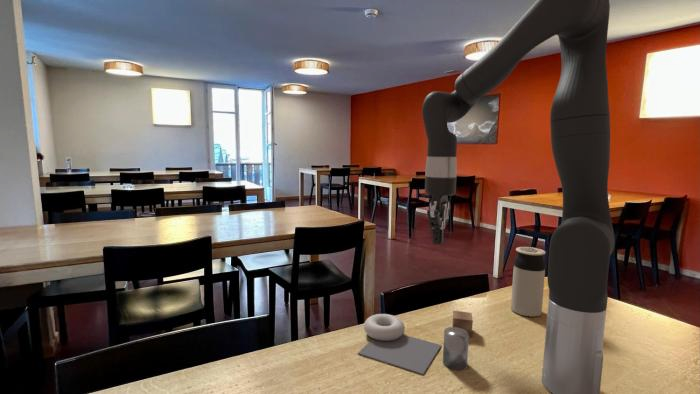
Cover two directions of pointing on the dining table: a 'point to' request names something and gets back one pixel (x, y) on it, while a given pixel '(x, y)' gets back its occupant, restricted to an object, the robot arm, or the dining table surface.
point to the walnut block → (463, 321)
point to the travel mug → (528, 281)
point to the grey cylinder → (455, 348)
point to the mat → (402, 353)
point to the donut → (384, 327)
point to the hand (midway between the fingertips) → (438, 243)
